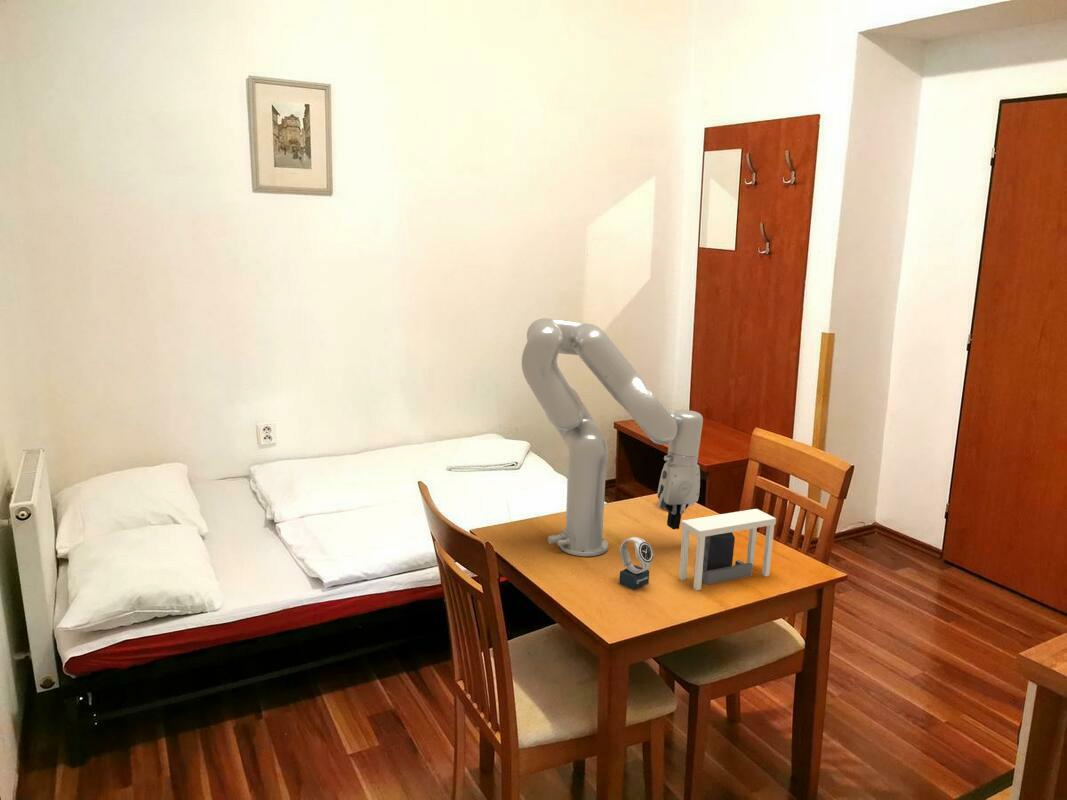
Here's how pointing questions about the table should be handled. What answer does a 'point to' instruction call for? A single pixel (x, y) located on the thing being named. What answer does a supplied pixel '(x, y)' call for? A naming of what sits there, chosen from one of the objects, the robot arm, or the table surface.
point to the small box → (718, 551)
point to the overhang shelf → (720, 526)
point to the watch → (635, 574)
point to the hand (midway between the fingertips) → (673, 527)
